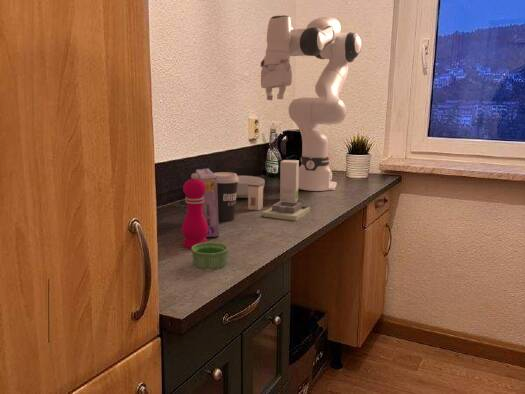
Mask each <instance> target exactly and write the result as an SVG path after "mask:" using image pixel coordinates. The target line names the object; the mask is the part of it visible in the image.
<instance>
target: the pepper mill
mask: <svg viewBox="0 0 525 394" xmlns="http://www.w3.org/2000/svg"><path fill="white" fill-rule="evenodd" d="M197 178H198V175H197V174H196V172H193V173H192V174H191V176H190V179H188V180H186V181H185V182H184V183H183V188H182V190H183V194H185V198H184V199H185V203H186V207H187V211H186V215H185V217H184V220H183V223H182V225H181V233H182V235H183V236H184V238H183V247H184V248H187V249H191V248H192V246H194V245H196V244H199V243H204V242H208V239H207V237H205V236H206V235H207V233H208V225H207V222H206V220H205V218H204V215H203V212H202V203H203V202H204V197H203V194H204V193H205V191H206V186H205V184H204V182H203V181H202V180H200V179H197Z"/></svg>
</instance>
